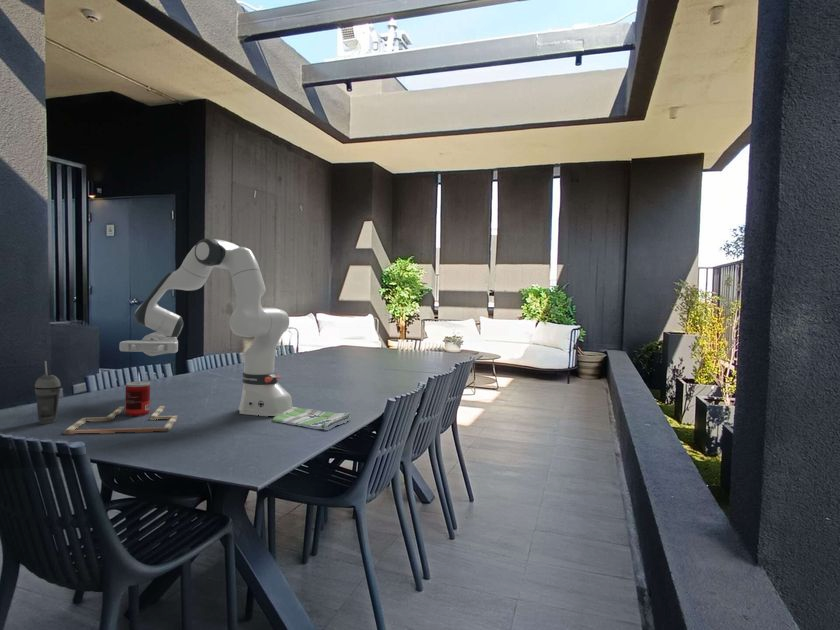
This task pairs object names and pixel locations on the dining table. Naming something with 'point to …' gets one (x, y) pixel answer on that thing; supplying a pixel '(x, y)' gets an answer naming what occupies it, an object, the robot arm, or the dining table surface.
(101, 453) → the dining table surface
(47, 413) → the beverage cup
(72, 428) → the t outline
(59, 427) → the dining table surface
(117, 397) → the dining table surface
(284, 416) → the dish towel
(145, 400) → the canned food
